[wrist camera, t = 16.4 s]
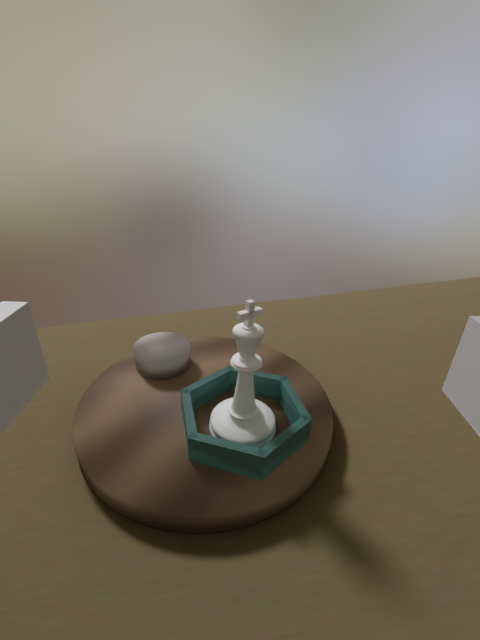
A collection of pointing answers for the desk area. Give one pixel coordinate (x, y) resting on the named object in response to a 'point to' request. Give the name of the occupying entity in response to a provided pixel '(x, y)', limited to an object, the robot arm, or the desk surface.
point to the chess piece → (245, 389)
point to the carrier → (198, 436)
